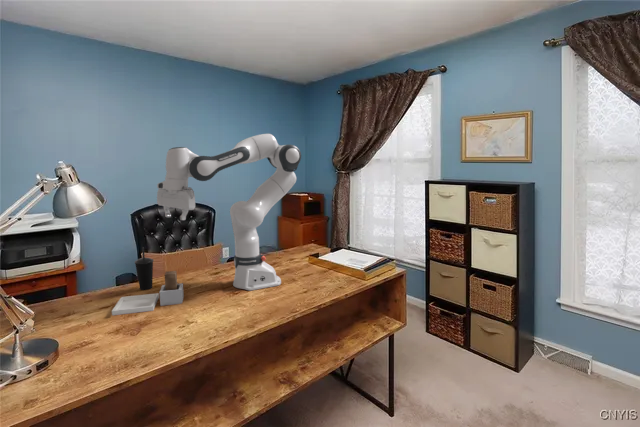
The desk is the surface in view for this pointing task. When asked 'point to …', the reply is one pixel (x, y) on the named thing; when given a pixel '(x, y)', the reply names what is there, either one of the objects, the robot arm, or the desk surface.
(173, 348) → the desk surface
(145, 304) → the tray
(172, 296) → the box
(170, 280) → the walnut peg
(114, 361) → the desk surface
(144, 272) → the drinking cup
